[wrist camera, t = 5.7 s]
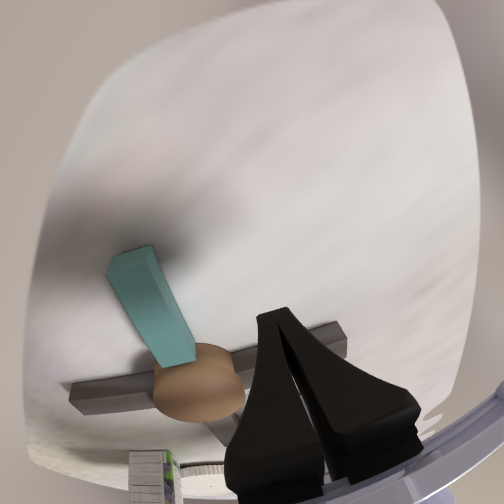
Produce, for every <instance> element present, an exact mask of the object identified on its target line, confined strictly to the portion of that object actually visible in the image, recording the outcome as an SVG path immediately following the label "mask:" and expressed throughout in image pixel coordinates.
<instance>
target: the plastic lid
mask: <svg viewBox="0 0 504 504" xmlns="http://www.w3.org/2000/svg"><path fill="white" fill-rule="evenodd" d="M180 475H181V486H182V494H184V495H193V496H212V495H222V494H229V493H233V492H232V491H231V490H229V489H228V488H227V487H226V484H225V478H224V465H208V466H206V465H204V466H195V467H187V468H183V469H180Z"/></svg>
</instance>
